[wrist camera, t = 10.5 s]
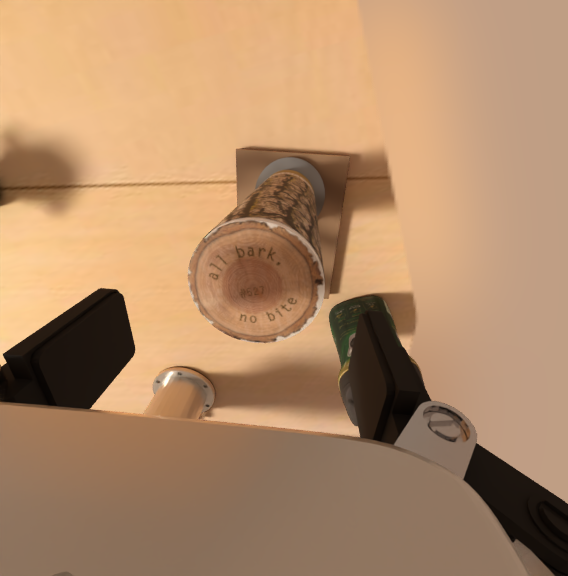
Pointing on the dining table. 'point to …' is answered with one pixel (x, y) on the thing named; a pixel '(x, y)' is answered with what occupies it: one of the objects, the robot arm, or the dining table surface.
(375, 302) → the coffee jar
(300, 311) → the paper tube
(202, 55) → the dining table surface
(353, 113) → the dining table surface
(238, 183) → the board
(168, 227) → the dining table surface
